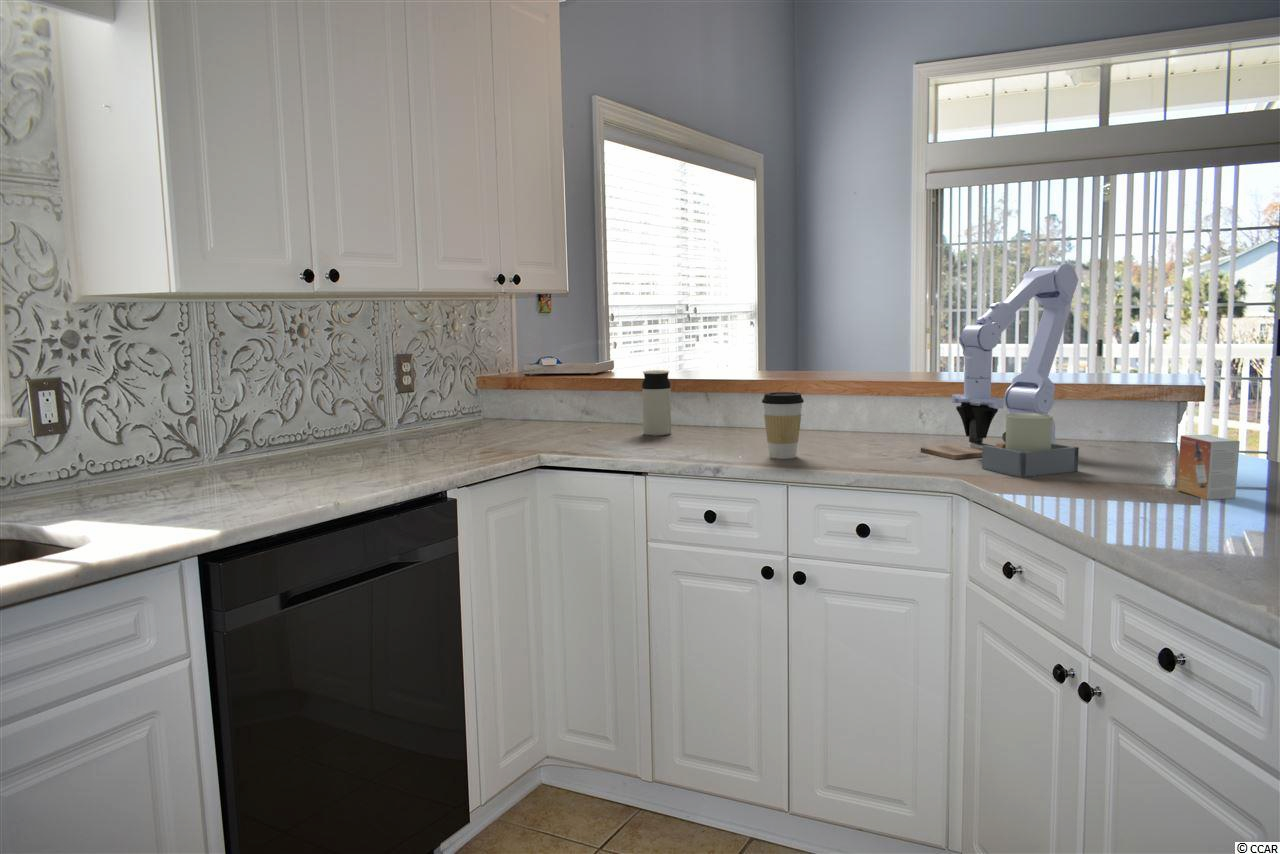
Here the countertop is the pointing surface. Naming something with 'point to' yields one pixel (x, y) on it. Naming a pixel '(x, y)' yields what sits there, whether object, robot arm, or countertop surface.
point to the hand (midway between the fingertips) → (976, 437)
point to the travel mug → (656, 403)
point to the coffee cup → (782, 423)
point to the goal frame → (1031, 460)
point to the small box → (1208, 466)
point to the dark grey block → (977, 442)
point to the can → (1028, 432)
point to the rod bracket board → (953, 451)
